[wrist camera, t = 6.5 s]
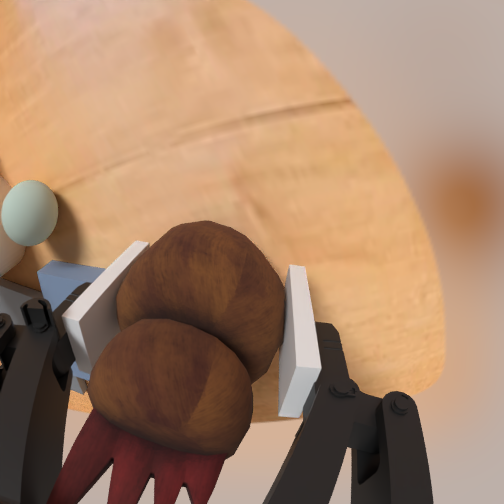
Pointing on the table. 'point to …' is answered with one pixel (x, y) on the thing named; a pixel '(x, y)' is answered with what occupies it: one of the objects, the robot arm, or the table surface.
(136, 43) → the table surface
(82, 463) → the wooden figurine
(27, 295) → the coaster
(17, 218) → the ball
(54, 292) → the book
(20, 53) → the table surface
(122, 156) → the table surface
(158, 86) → the table surface
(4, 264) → the mug
